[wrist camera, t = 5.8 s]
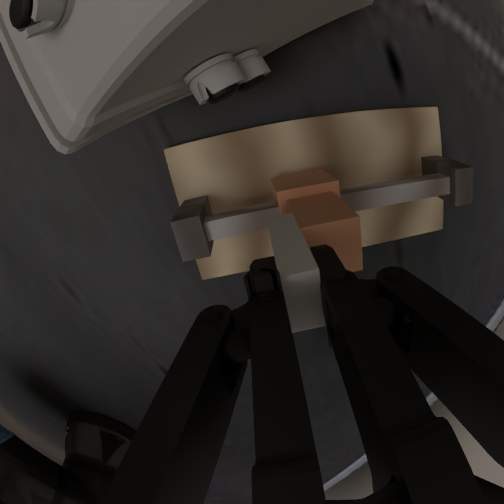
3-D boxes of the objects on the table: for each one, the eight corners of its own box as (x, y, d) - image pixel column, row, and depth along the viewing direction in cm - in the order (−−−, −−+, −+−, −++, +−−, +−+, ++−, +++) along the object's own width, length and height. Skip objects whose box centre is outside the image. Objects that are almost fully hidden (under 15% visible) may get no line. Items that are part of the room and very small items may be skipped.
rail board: (203, 273, 29) (195, 314, 23) (167, 148, 24) (144, 159, 18) (436, 224, 28) (472, 251, 22) (430, 106, 23) (473, 110, 17)
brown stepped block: (280, 229, 24) (300, 293, 16) (270, 178, 23) (287, 218, 14) (329, 220, 24) (371, 277, 16) (322, 168, 22) (368, 202, 14)
